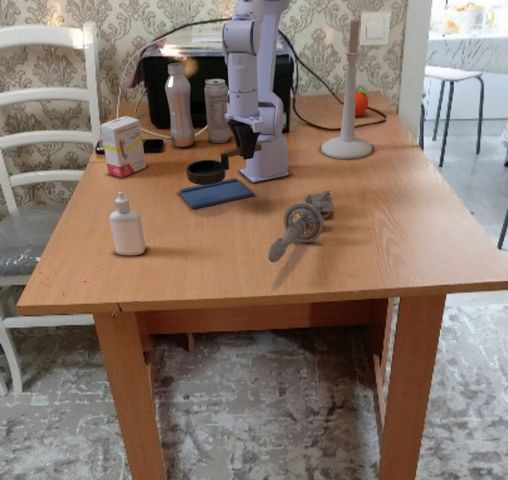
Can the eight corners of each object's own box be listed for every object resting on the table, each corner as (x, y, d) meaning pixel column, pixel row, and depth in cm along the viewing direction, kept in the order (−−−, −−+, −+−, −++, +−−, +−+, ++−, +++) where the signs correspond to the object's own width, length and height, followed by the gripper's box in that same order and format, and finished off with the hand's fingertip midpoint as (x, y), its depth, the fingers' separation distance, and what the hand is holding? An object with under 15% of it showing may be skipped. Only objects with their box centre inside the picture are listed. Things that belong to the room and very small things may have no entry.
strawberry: (373, 113, 174) (375, 87, 170) (368, 120, 169) (370, 94, 165) (346, 111, 177) (348, 85, 172) (340, 118, 172) (342, 92, 167)
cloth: (236, 181, 138) (235, 177, 138) (251, 195, 132) (251, 191, 131) (179, 193, 134) (179, 188, 134) (192, 208, 128) (192, 204, 127)
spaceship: (241, 241, 99) (283, 231, 95) (305, 182, 126) (340, 172, 122) (257, 284, 102) (298, 275, 98) (317, 217, 129) (351, 208, 125)
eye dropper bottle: (134, 260, 111) (123, 200, 104) (112, 252, 114) (100, 193, 106) (149, 250, 114) (139, 191, 107) (127, 243, 117) (116, 185, 109)
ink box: (121, 178, 142) (112, 128, 134) (107, 174, 144) (98, 125, 137) (147, 167, 147) (140, 118, 140) (133, 163, 150) (125, 115, 142)
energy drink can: (229, 135, 163) (226, 77, 154) (231, 142, 159) (228, 83, 149) (207, 137, 163) (203, 79, 153) (209, 144, 158) (204, 85, 149)
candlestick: (331, 138, 159) (338, 11, 140) (378, 144, 154) (391, 14, 135) (313, 154, 150) (318, 21, 131) (362, 161, 145) (373, 24, 127)
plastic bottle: (167, 148, 157) (156, 67, 144) (178, 139, 162) (170, 60, 149) (188, 151, 155) (180, 68, 142) (200, 142, 160) (192, 62, 147)
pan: (195, 188, 120) (192, 166, 117) (182, 173, 126) (179, 152, 123) (268, 171, 125) (268, 150, 122) (253, 158, 130) (252, 137, 127)
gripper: (211, 83, 121) (216, 149, 129) (238, 101, 110) (242, 172, 119) (243, 78, 123) (245, 143, 131) (273, 95, 112) (273, 165, 121)
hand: (246, 156), depth 125 cm, fingers closed on pan
